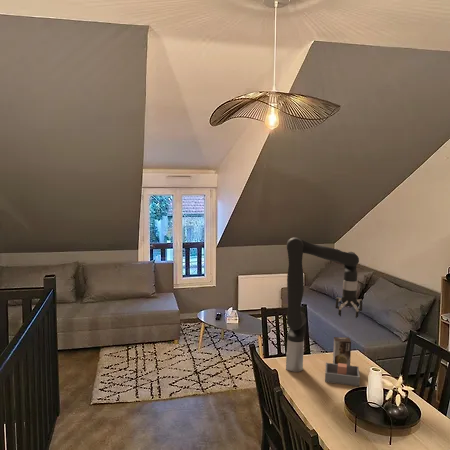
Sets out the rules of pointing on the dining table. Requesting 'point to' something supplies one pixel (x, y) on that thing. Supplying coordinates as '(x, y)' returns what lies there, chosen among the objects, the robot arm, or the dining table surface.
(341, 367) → the juice box
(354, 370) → the tote
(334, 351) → the coffee box
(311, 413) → the dining table surface
